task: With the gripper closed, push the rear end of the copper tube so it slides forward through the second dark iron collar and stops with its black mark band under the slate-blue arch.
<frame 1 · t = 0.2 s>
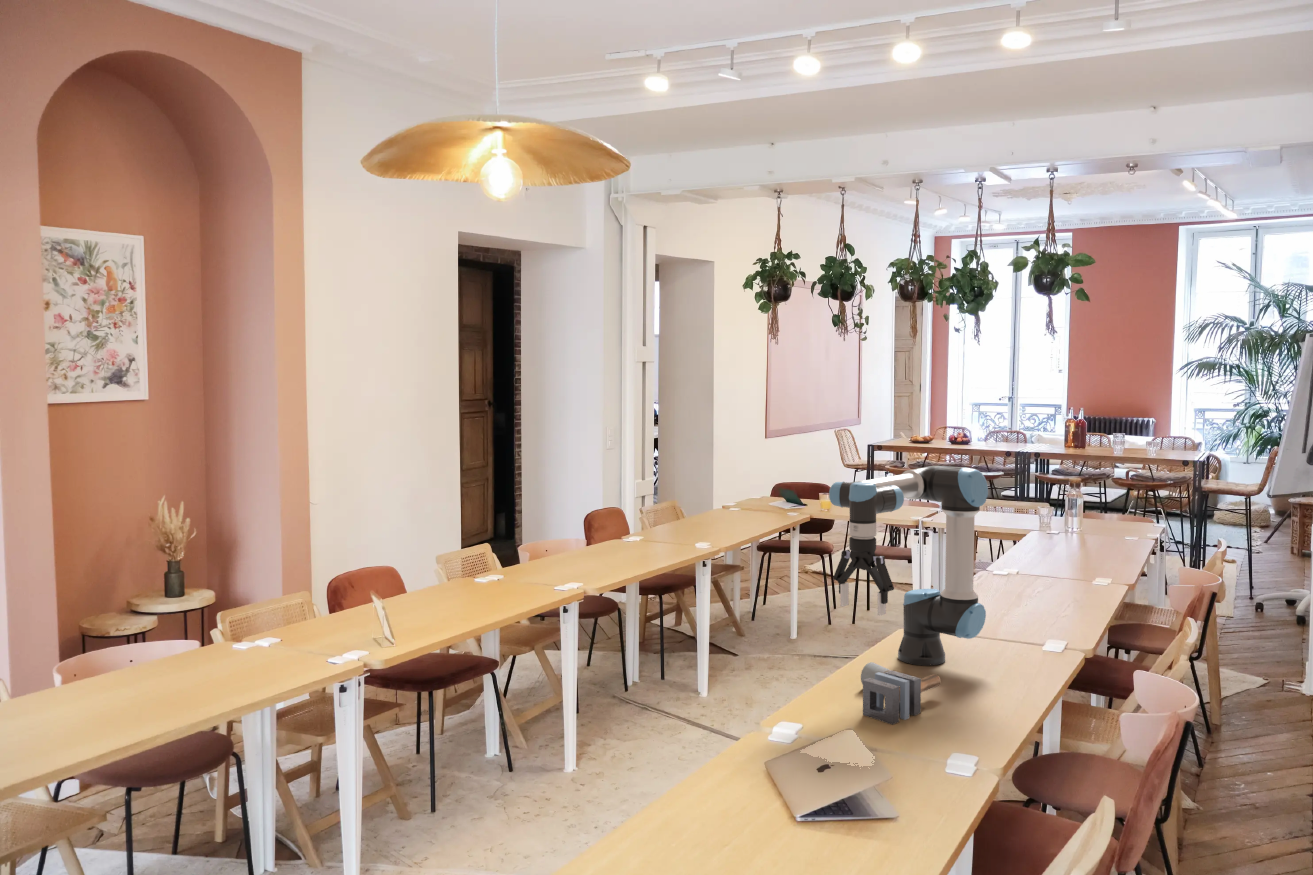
hand: (862, 610, 280), 28 cm above the table, fingers open, 13 cm apart
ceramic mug: (880, 689, 295), on the table
aperture arch: (891, 713, 274), on the table
square frame 1: (902, 709, 277), on the table
air tube: (915, 687, 281), point 5 cm above the table, slide at 0.0 cm
collar 2: (880, 718, 271), on the table
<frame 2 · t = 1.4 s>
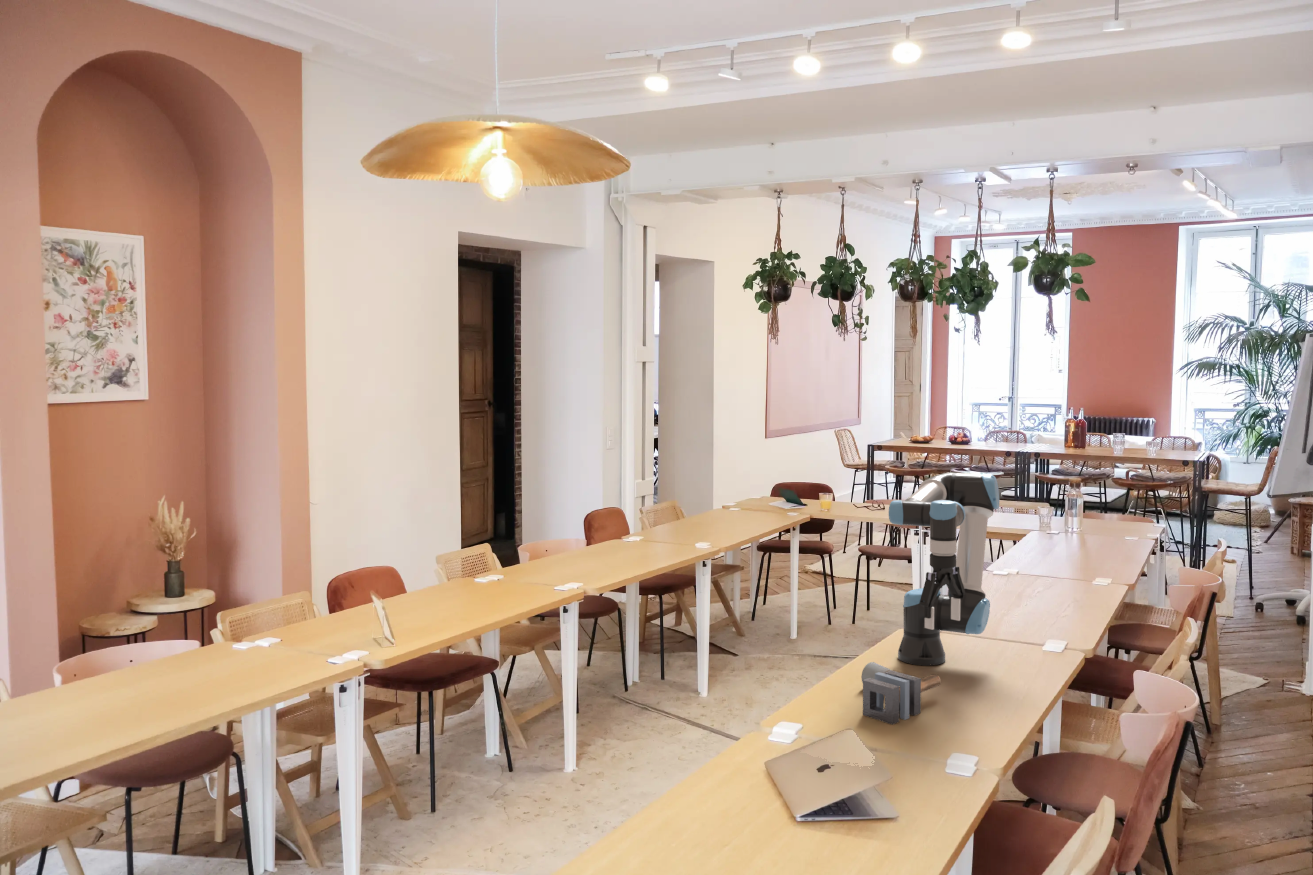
hand: (942, 624, 290), 21 cm above the table, fingers open, 13 cm apart
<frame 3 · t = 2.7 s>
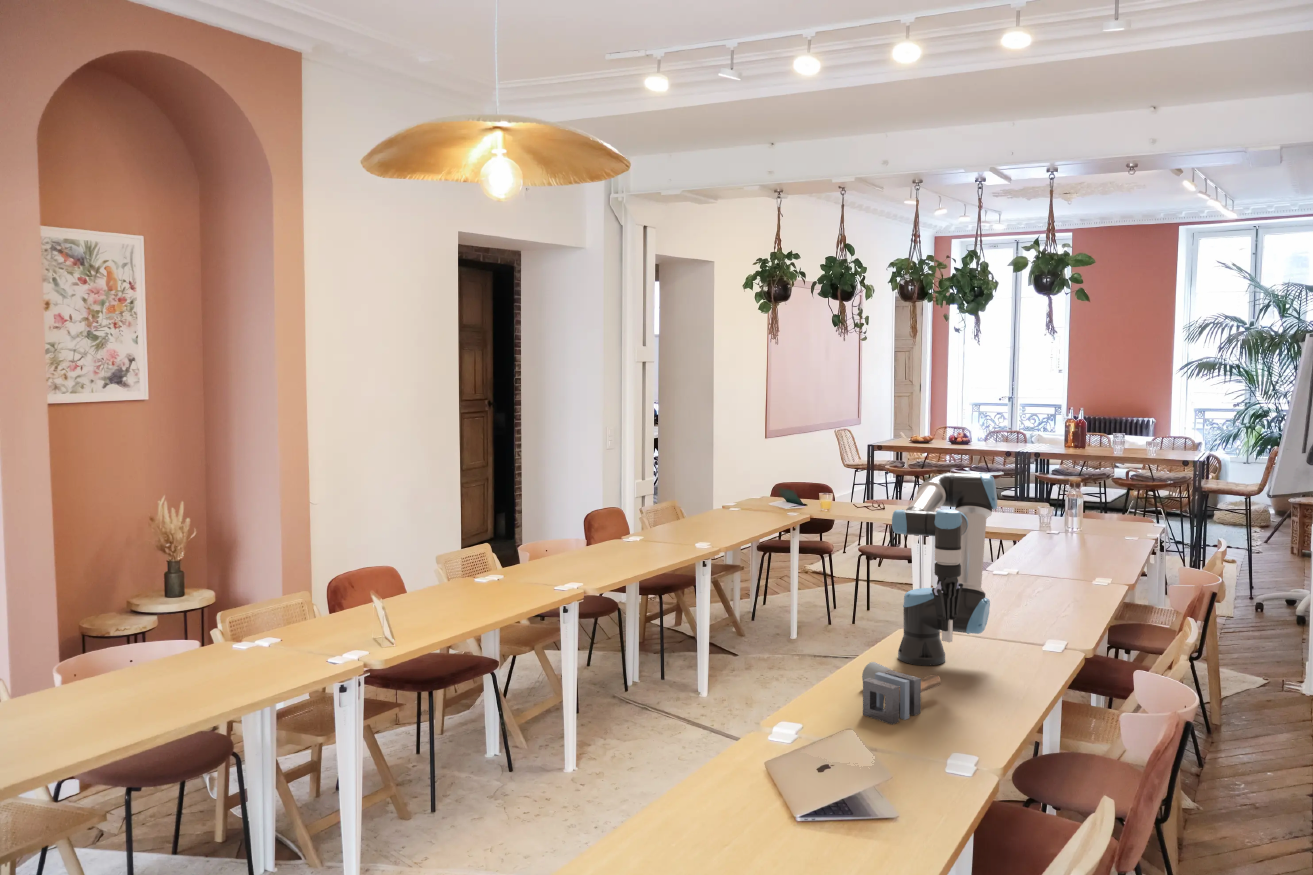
hand: (947, 640, 290), 16 cm above the table, fingers closed
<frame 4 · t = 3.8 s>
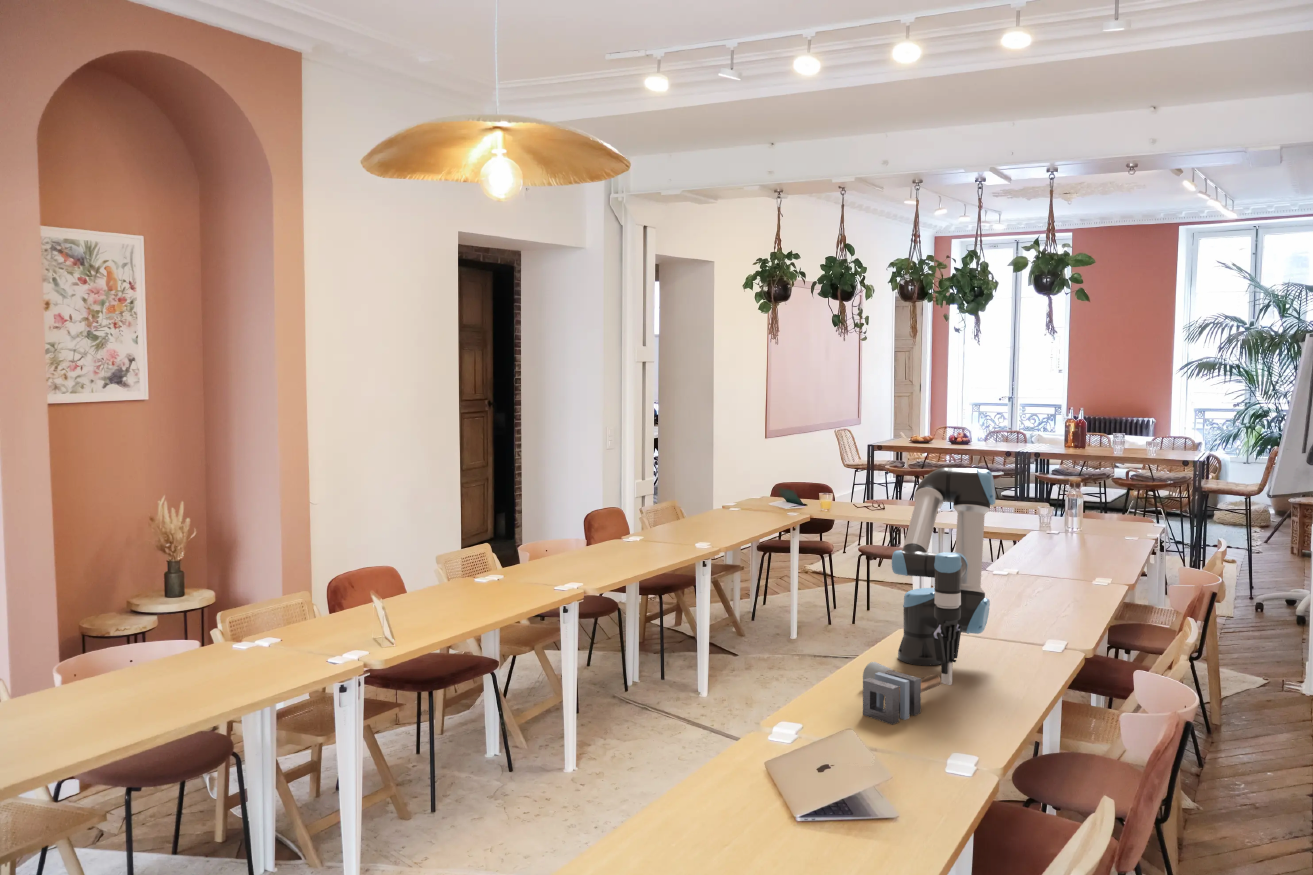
hand: (946, 683, 291), 3 cm above the table, fingers closed
nothing on the table moved.
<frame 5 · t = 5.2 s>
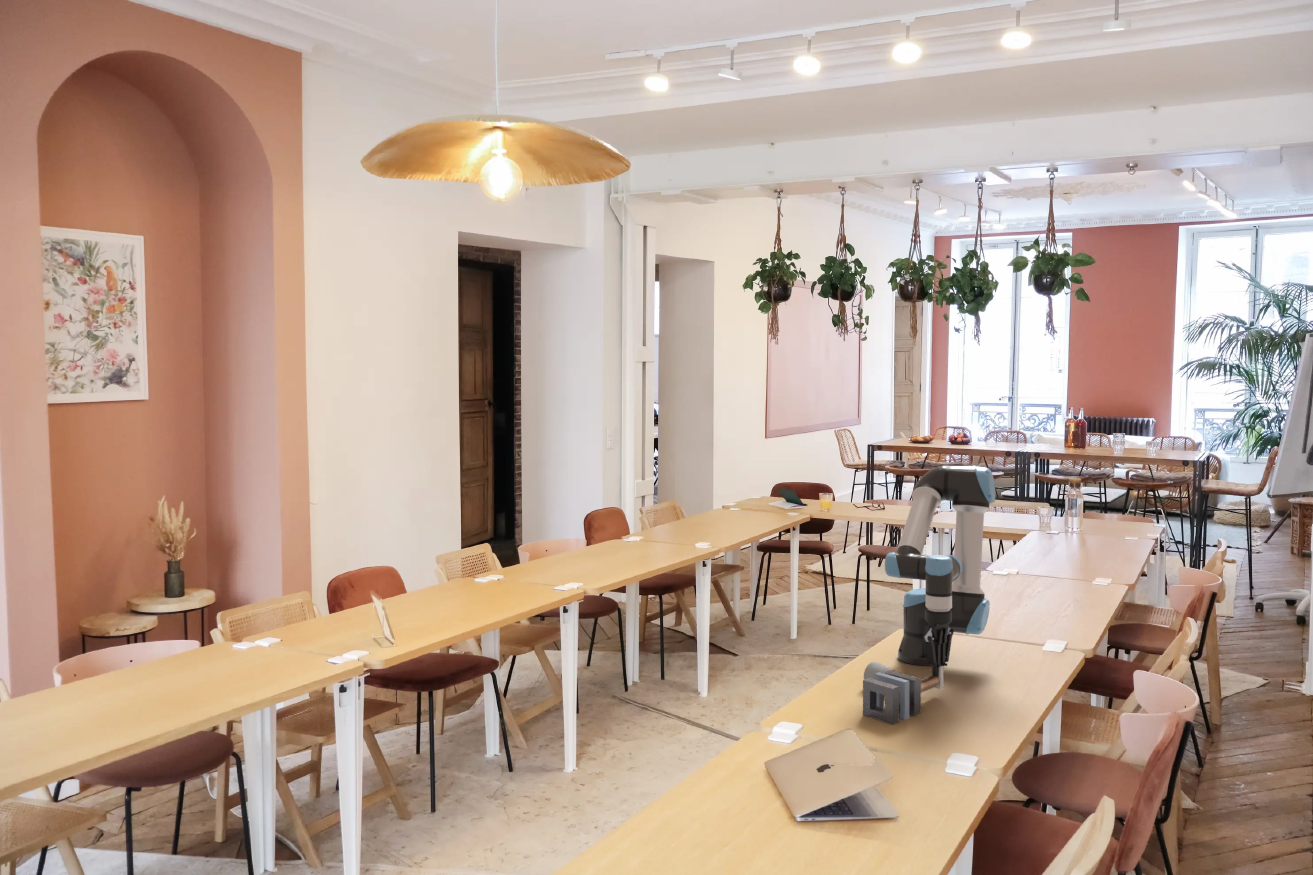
hand: (937, 687, 288), 3 cm above the table, fingers closed
air tube: (913, 688, 280), point 5 cm above the table, slide at 0.8 cm, touching gripper
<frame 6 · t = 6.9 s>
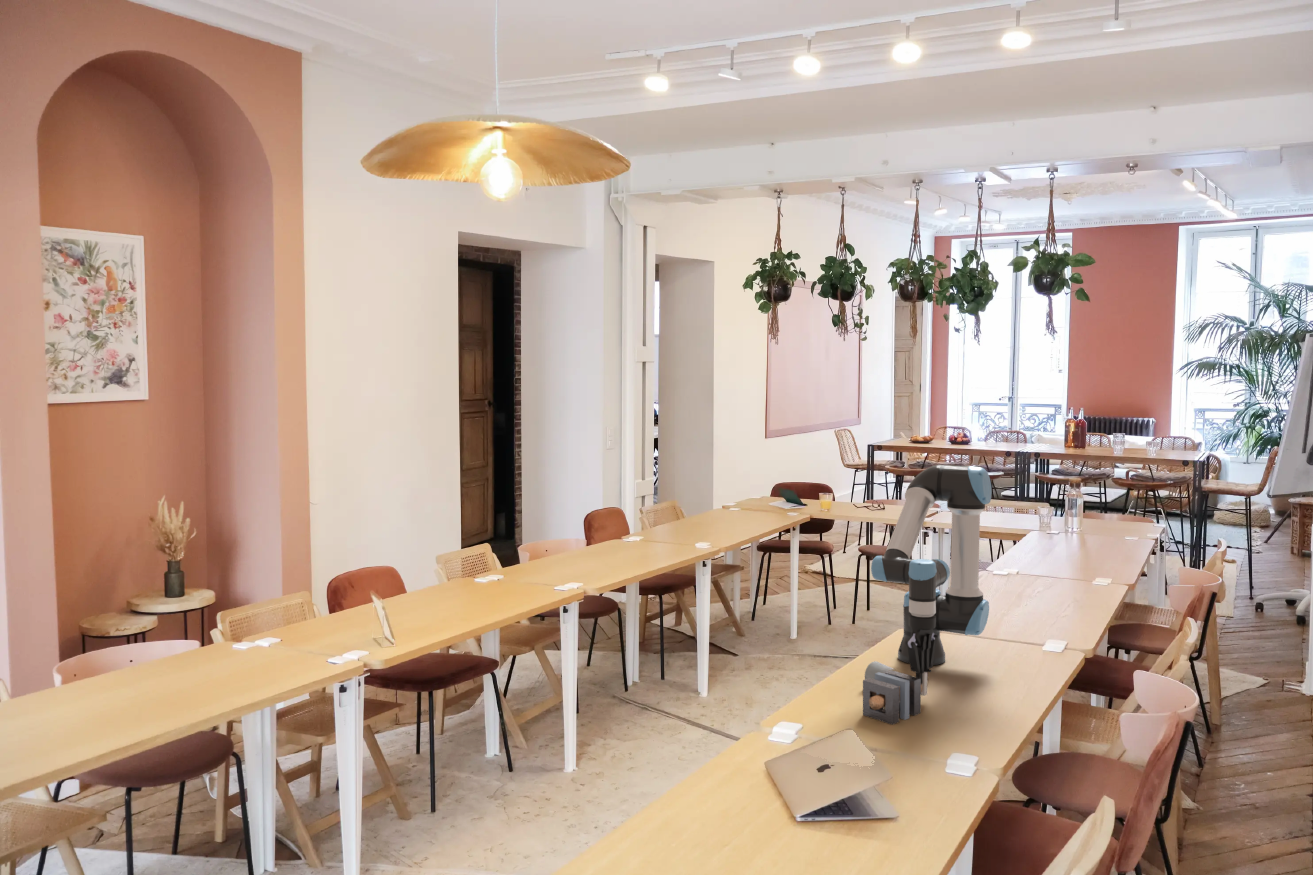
hand: (921, 693, 283), 3 cm above the table, fingers closed
air tube: (896, 694, 275), point 5 cm above the table, slide at 8.9 cm, touching gripper
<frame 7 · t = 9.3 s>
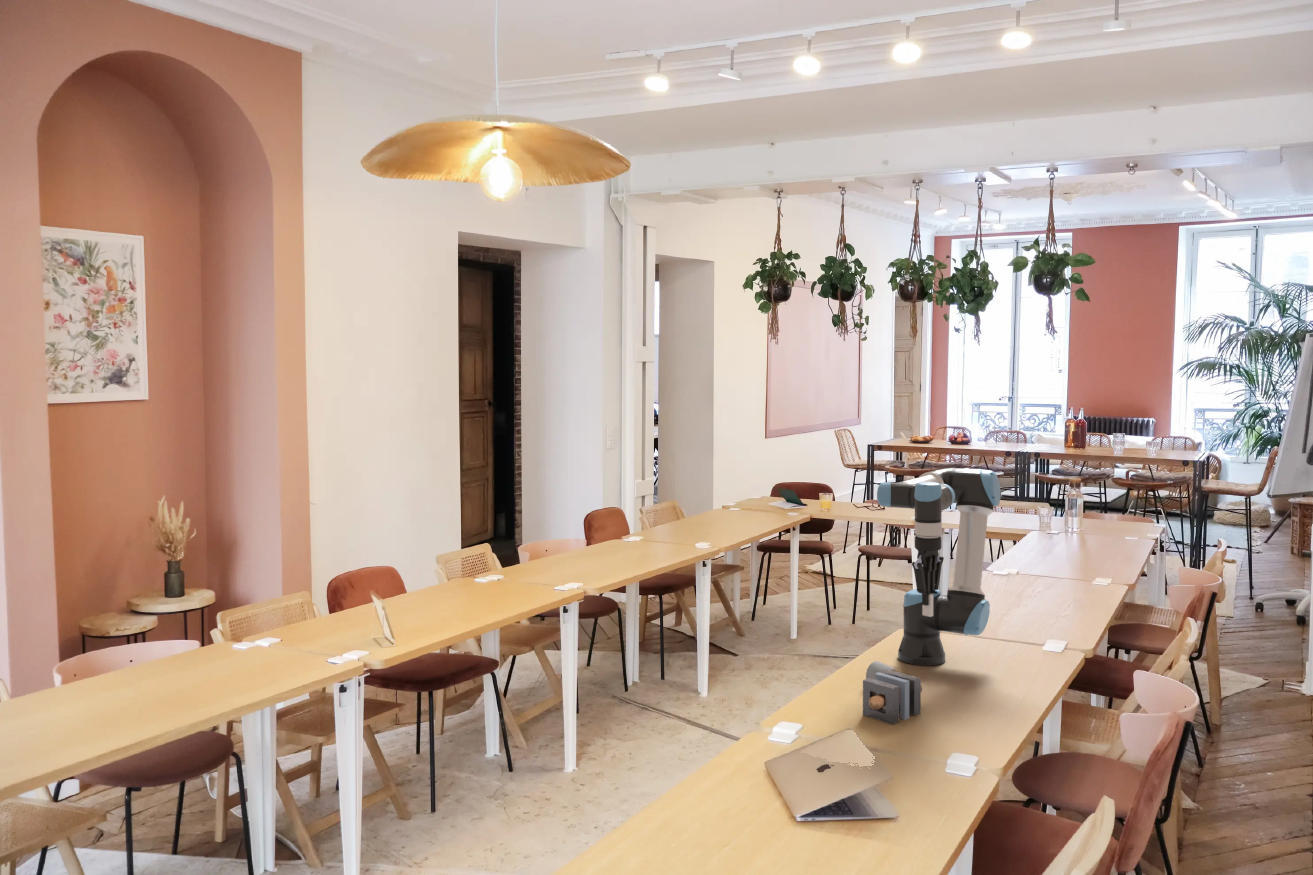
hand: (927, 615, 286), 24 cm above the table, fingers closed
air tube: (895, 695, 275), point 5 cm above the table, slide at 9.2 cm
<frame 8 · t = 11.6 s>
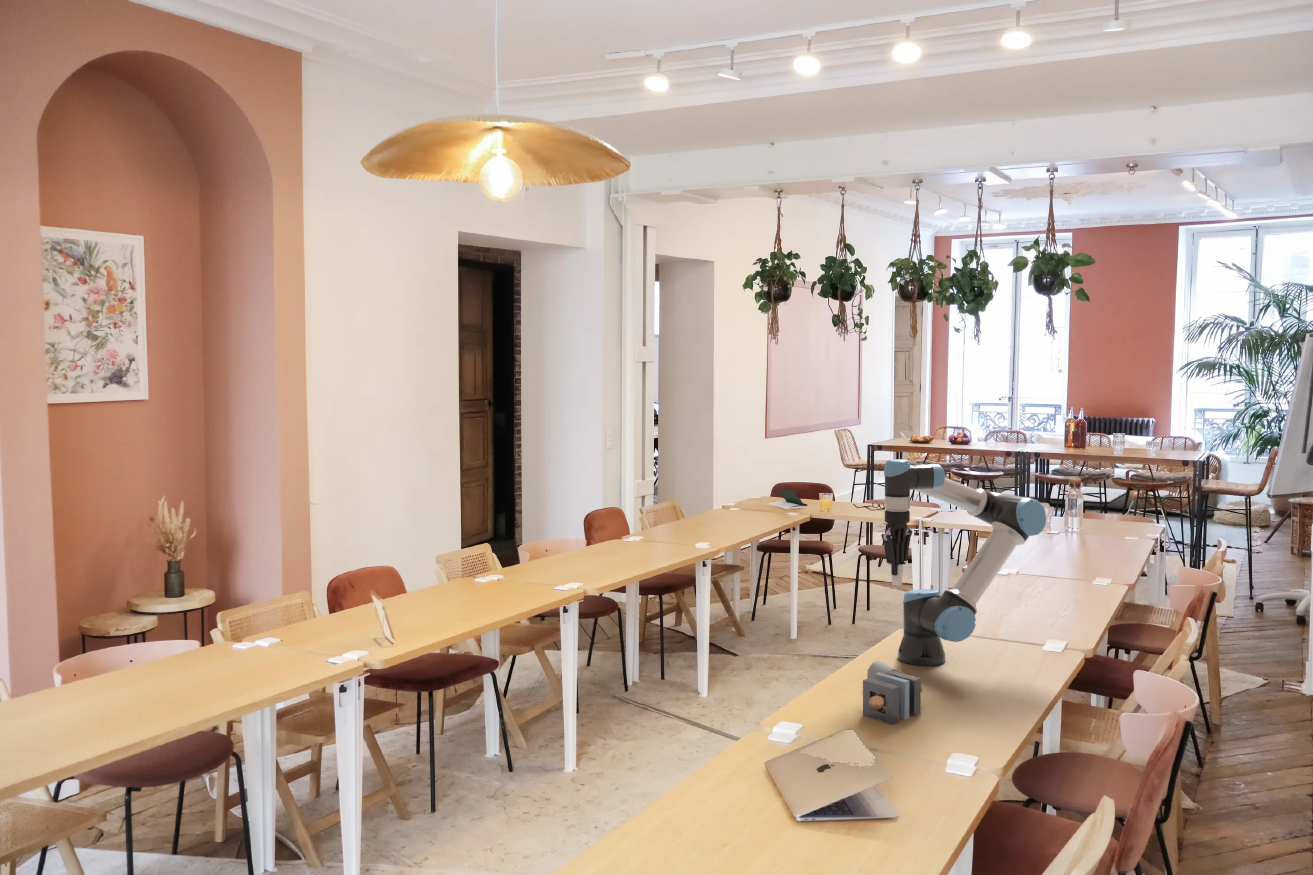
hand: (896, 585, 303), 29 cm above the table, fingers closed
at the end: air tube slide at 9.2 cm; the gripper is holding nothing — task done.
